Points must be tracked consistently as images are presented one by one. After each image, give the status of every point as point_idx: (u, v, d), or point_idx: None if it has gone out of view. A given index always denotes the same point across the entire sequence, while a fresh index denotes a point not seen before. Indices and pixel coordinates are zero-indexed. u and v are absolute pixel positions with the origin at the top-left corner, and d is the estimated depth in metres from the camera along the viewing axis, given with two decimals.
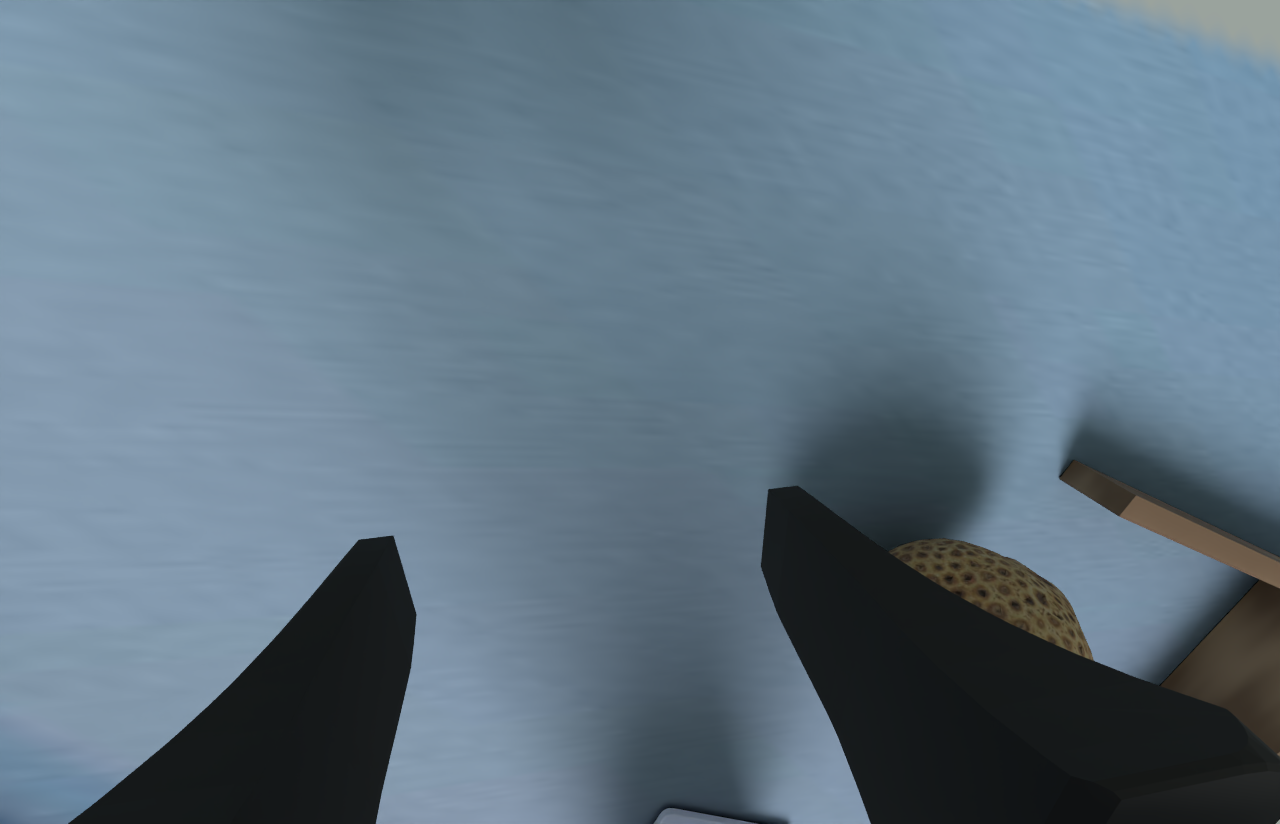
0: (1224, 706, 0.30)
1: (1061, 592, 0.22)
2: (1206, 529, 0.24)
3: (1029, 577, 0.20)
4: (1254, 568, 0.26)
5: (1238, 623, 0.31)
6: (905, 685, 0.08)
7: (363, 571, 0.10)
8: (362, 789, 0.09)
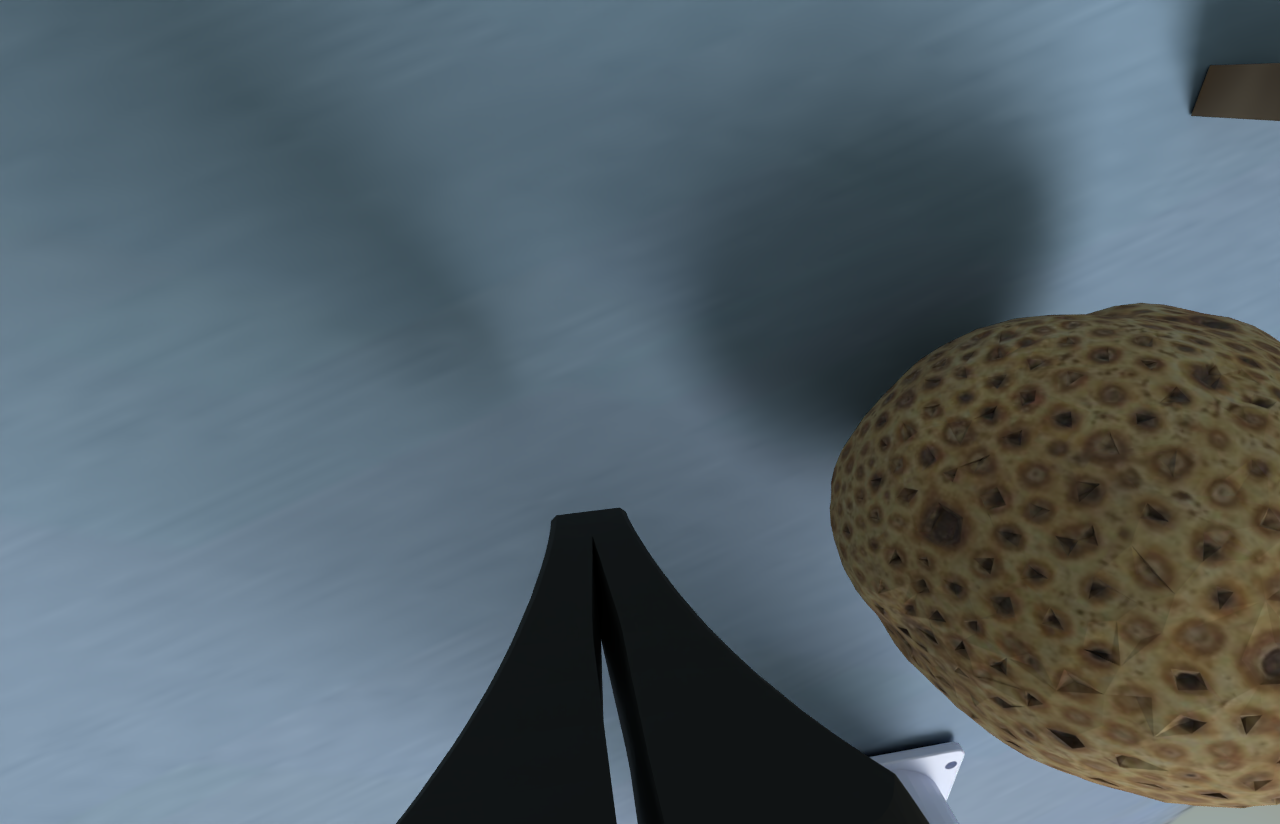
0: None
1: (1255, 330, 0.11)
2: None
3: (1167, 340, 0.09)
4: None
5: None
6: (636, 731, 0.07)
7: (580, 543, 0.10)
8: None
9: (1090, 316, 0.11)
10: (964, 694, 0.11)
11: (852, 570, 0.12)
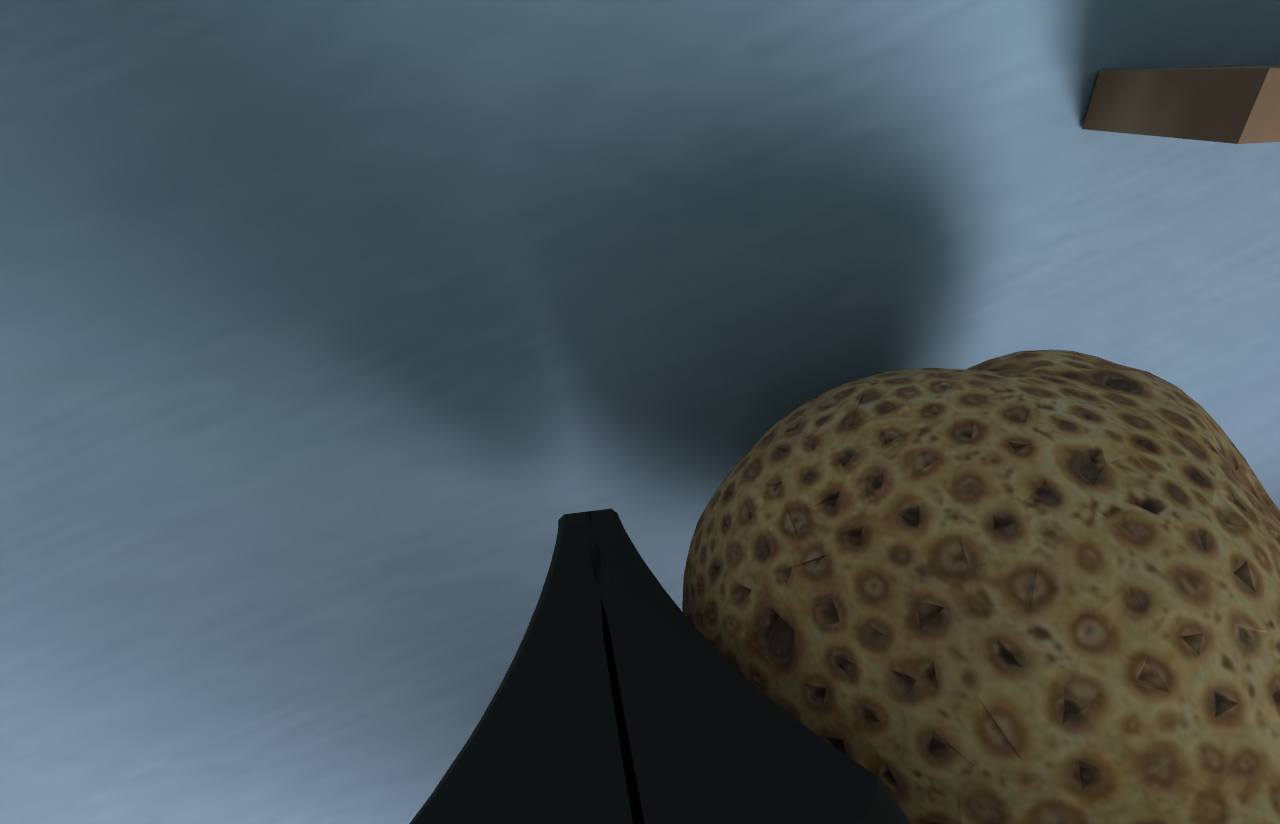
0: None
1: (1168, 392, 0.09)
2: None
3: (1046, 413, 0.08)
4: None
5: None
6: (623, 734, 0.07)
7: (588, 541, 0.10)
8: None
9: (968, 374, 0.09)
10: None
11: None
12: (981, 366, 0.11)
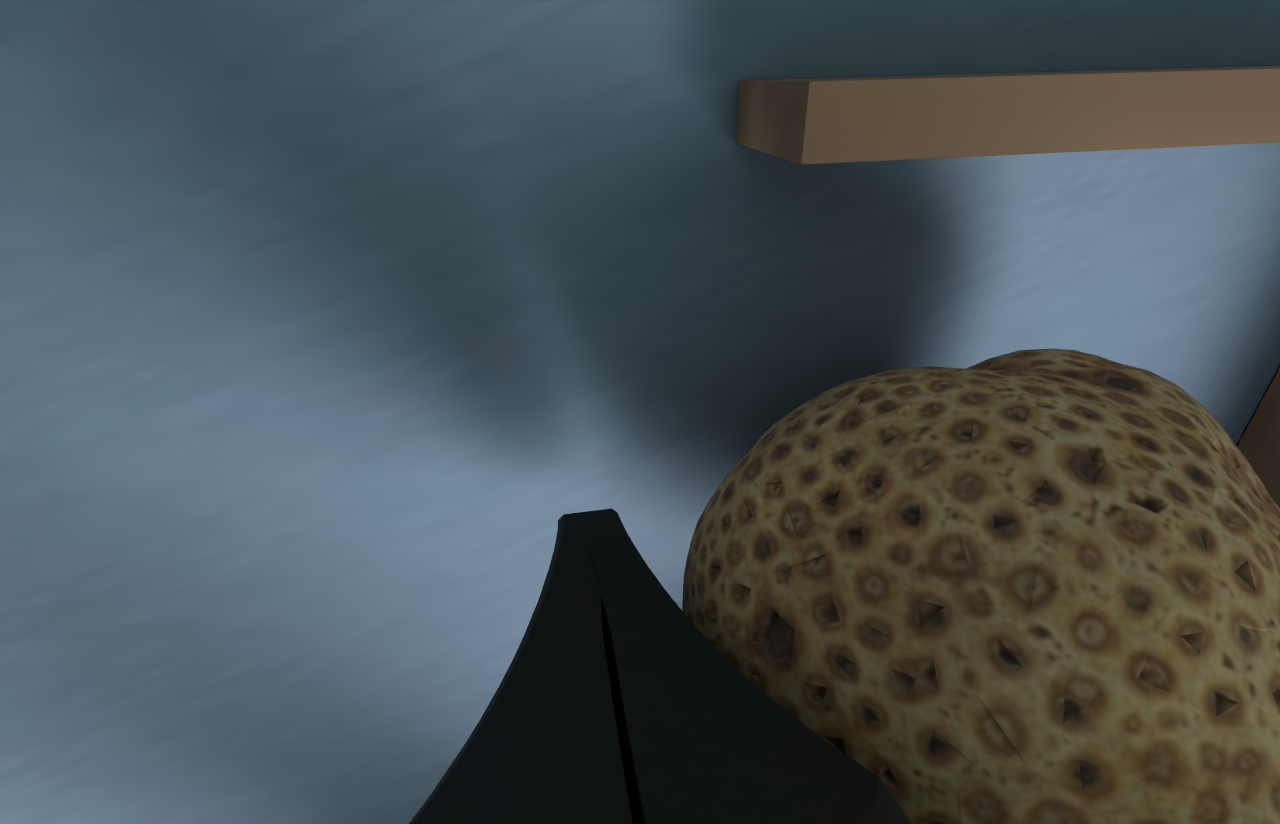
0: None
1: (1168, 391, 0.09)
2: (1107, 76, 0.08)
3: (1046, 412, 0.08)
4: None
5: None
6: (624, 733, 0.07)
7: (588, 541, 0.10)
8: None
9: (969, 373, 0.09)
10: None
11: None
12: (981, 365, 0.11)
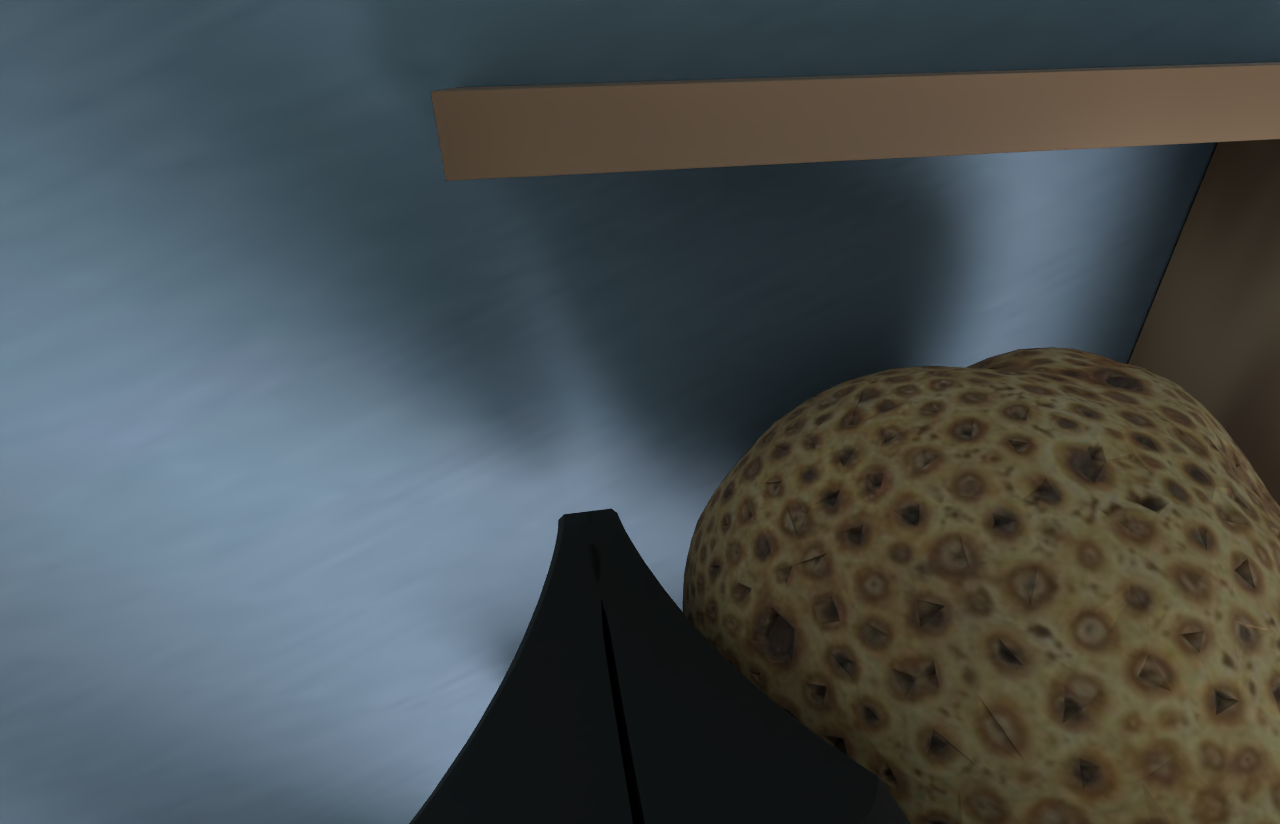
0: None
1: (1168, 389, 0.09)
2: (781, 84, 0.08)
3: (1046, 411, 0.08)
4: (1042, 126, 0.09)
5: (1197, 266, 0.13)
6: (623, 734, 0.07)
7: (588, 541, 0.10)
8: None
9: (968, 372, 0.09)
10: None
11: None
12: (981, 364, 0.11)
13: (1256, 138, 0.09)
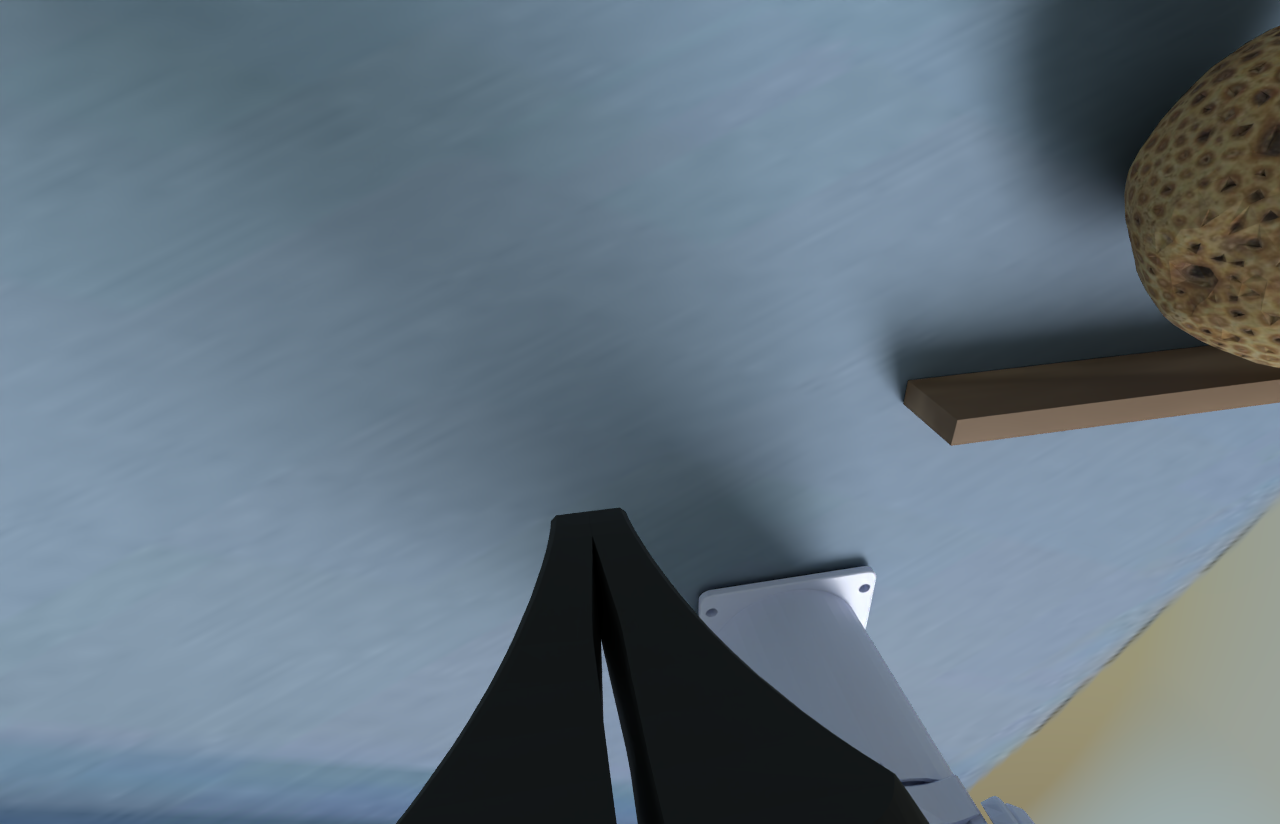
0: None
1: None
2: None
3: None
4: None
5: None
6: (636, 731, 0.07)
7: (580, 543, 0.10)
8: None
9: None
10: (1275, 292, 0.14)
11: (1170, 221, 0.15)
12: None
13: None
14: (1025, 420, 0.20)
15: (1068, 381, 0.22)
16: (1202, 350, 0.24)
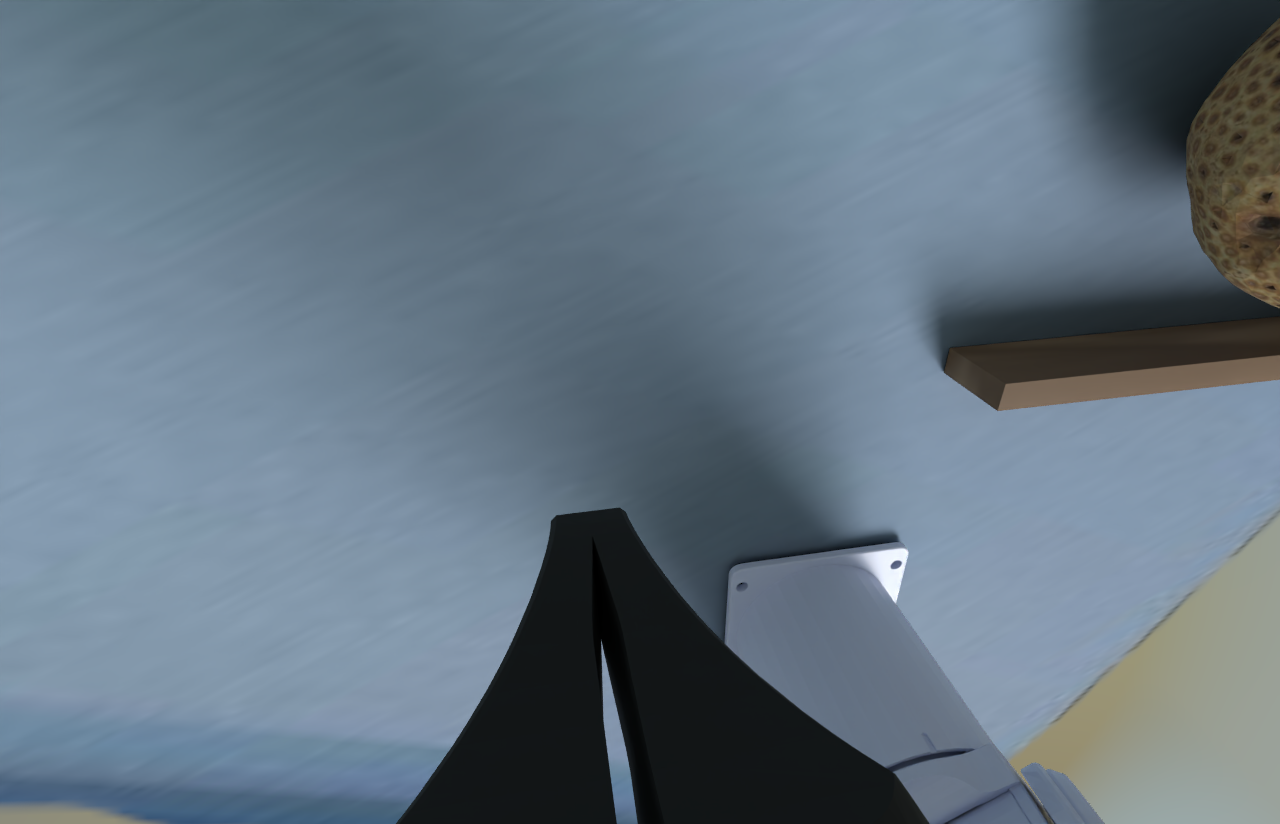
0: None
1: None
2: None
3: None
4: None
5: None
6: (636, 731, 0.07)
7: (580, 543, 0.10)
8: None
9: None
10: None
11: (1240, 170, 0.15)
12: None
13: None
14: (1073, 386, 0.20)
15: (1113, 350, 0.22)
16: (1245, 323, 0.23)
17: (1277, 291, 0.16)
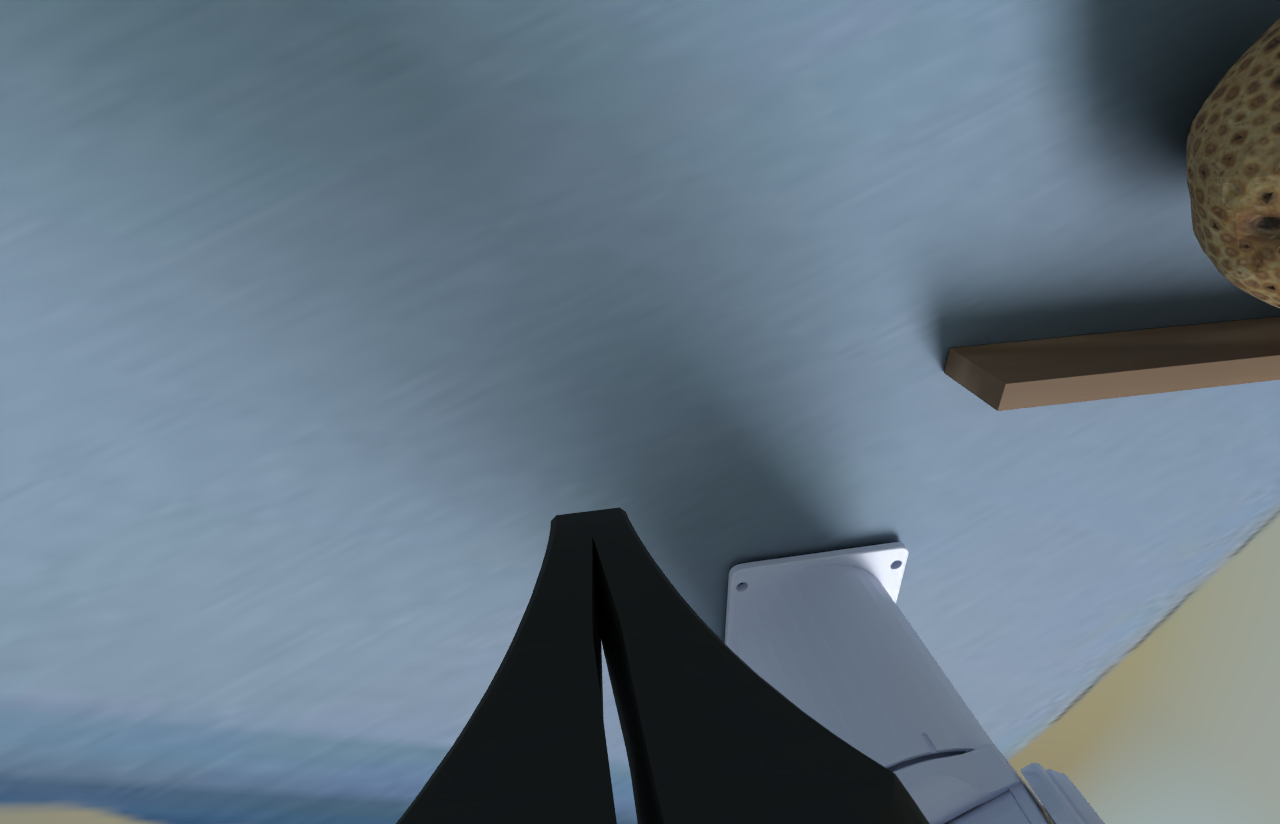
0: None
1: None
2: None
3: None
4: None
5: None
6: (636, 731, 0.07)
7: (580, 543, 0.10)
8: None
9: None
10: None
11: (1240, 170, 0.15)
12: None
13: None
14: (1073, 386, 0.20)
15: (1113, 350, 0.22)
16: (1245, 323, 0.23)
17: (1277, 291, 0.16)
